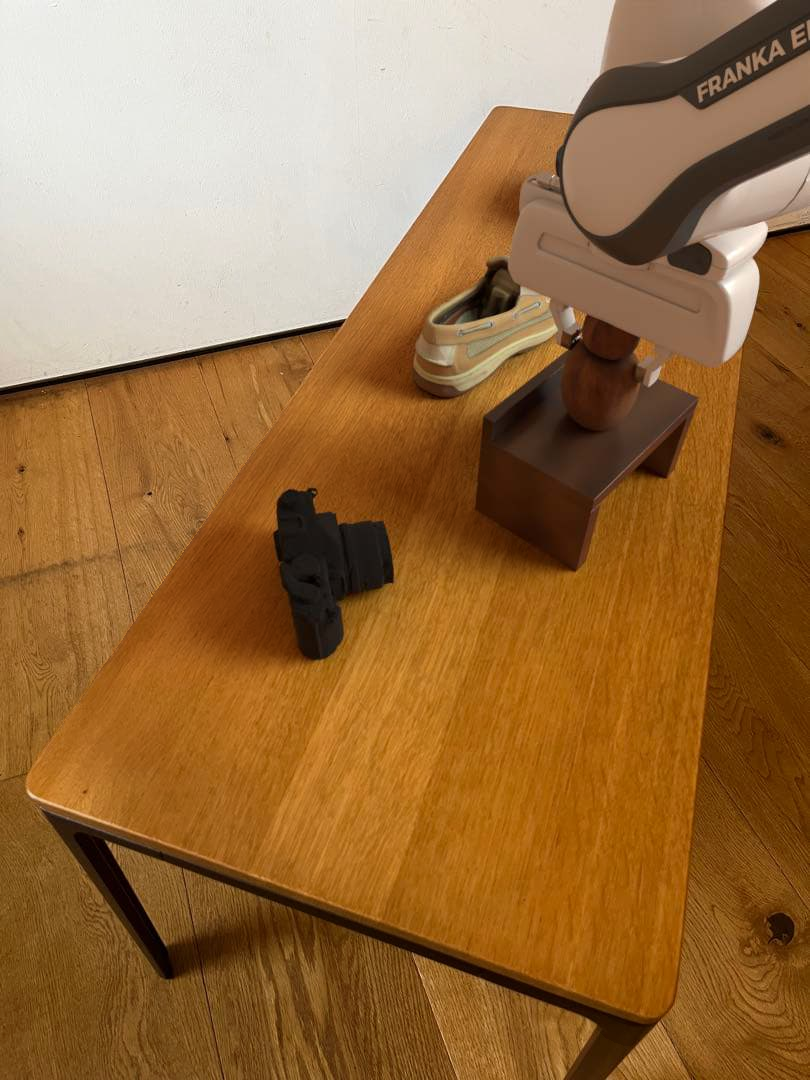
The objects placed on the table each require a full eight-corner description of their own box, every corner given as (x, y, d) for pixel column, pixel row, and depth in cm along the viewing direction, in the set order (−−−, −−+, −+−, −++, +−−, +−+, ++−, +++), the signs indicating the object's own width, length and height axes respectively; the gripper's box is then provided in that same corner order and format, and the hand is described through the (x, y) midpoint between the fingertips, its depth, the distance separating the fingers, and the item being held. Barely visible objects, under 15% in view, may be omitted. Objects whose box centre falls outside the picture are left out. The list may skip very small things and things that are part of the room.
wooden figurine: (641, 427, 71) (684, 277, 60) (592, 449, 69) (626, 299, 58) (593, 387, 75) (624, 239, 64) (545, 407, 73) (569, 258, 62)
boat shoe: (596, 300, 102) (613, 217, 94) (475, 419, 87) (482, 333, 78) (527, 275, 106) (537, 194, 98) (399, 384, 91) (398, 299, 82)
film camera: (407, 648, 67) (406, 584, 60) (294, 668, 66) (280, 605, 59) (376, 520, 77) (372, 452, 70) (277, 535, 76) (263, 468, 69)
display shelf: (674, 470, 81) (706, 376, 72) (576, 571, 72) (599, 480, 63) (576, 419, 86) (596, 327, 77) (474, 508, 78) (482, 416, 69)
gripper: (500, 177, 60) (487, 332, 71) (749, 270, 51) (693, 431, 62) (547, 151, 63) (529, 302, 74) (791, 234, 54) (730, 393, 65)
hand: (605, 362), depth 68 cm, fingers closed on wooden figurine, 6 cm apart
